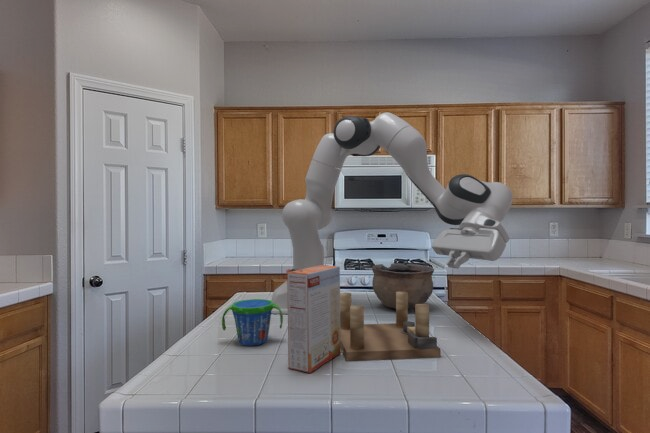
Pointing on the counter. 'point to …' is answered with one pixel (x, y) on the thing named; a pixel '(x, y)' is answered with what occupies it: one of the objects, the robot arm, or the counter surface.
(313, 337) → the cracker box
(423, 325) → the leg
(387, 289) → the ceramic bowl
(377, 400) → the counter surface
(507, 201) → the robot arm
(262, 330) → the snack cup
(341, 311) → the stool
